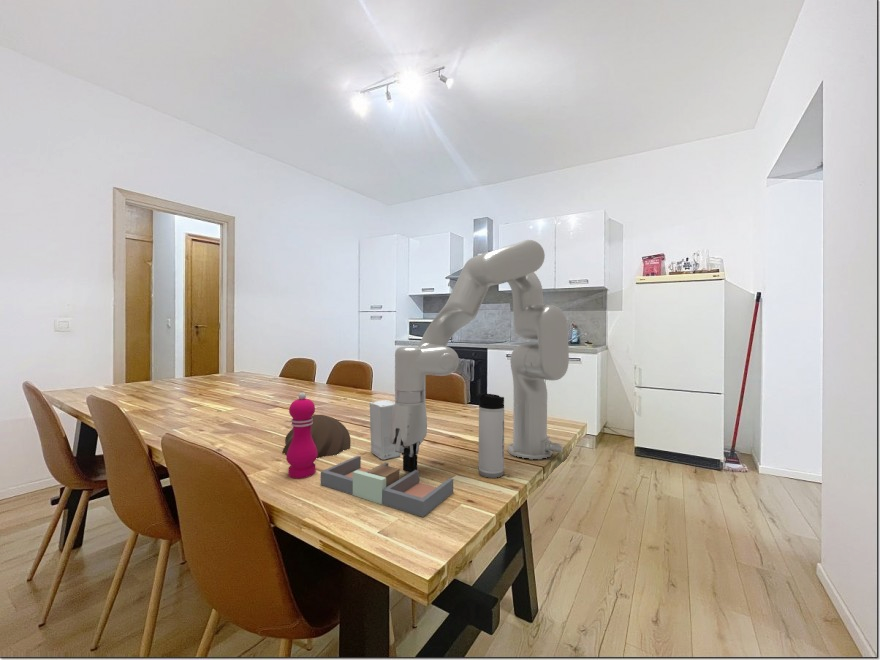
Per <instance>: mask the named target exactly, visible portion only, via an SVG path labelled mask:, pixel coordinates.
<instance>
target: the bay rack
mask: <svg viewBox="0 0 880 660" xmlns="http://www.w3.org/2000/svg"><path fill="white" fill-rule="evenodd" d="M361 457H362V456H360V455H356V456H353V457H351V458H349V459H347V460H344V461H342V462H339V463H338V464H336V465H333V466H331V467H329V468H326V469H323V470H321V471H320V486H323V487H327V488H330V489H332V490H336V491H339V492H342V493H346V494H349V495H352V496H354V497H358V498H360V499H364V500H367V501H370V502H372V503H376V504H380V505H383V506H386V507H389V508H392V509H395V510H399V511H403V512H405V513H408V514H411V515H415V516H419V517H421V518H424V517H425V516H427V515H428V514H429V513H431V512H432V510H434V509H435V508H436V507H438V506H439V505H441V503H443V502H444V501H445V500H446V499H448V498H449V496H451V495H452V494H453V493H454V478H452V477H449V478H447V479H446V480H445V481H443V482H442V483H440V484H439V485H438V486H434V485H430V484H427V483H422V482H420V470H418V469H417V470H414V471H413V472H408V473H407V474H406V475H404V476H402V477H401V478H399V480H398V481H396V482H394V483H393V484H391V485H389V486H388V487H386V478H385V477H382V476H378V475H374V474H371V473H368V471H370V470H372V469H374V468H376V467H378V466H380V465H386V466H389V462H382V463H381V464H378V465H377V466H375V467H372V469H368V468H365V467H361V465H362V463H361V459H362V458H361Z"/></svg>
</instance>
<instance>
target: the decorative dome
mask: <svg viewBox="0 0 880 660" xmlns="http://www.w3.org/2000/svg"><path fill="white" fill-rule="evenodd" d="M312 418H313V421H312V422H313V424H312V425H311V436H312V439H313V441H314V443H315V445H316V448H317V454H318V456H317V459H320V458H324V457H331V456H332V457H333V455H334V456H338V455H339V454H340V453H341V452H344V451H348V450H350V449H351V435H350V433H349V431H348V429H347V428H346V426H345V425H344V424H343V423H342V422H340V421H339V420H338V419H336V418H334V417H332V416H329V415H325V414H313V415H312ZM293 432H294V430H293V428H291V429H290V430H289V431H288V433H287V434H286V436H285V439H284V444H285V445H284V447H283V450H282V454H284V453H285V454H284V455H287V451H288V448H289V446H290V444H291V442H292V439H293ZM347 449H348V450H347ZM343 450H344V451H343ZM337 454H338V455H337ZM323 456H324V457H323ZM319 457H320V458H319Z"/></svg>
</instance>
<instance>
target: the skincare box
mask: <svg viewBox="0 0 880 660" xmlns="http://www.w3.org/2000/svg"><path fill="white" fill-rule="evenodd" d="M394 404H395V401H392V400H391V401H390V400H388V399H384V400H377V401H372V402H371V401H370V402H369V422H370V424H369V425H370V427H369V429H370V453H371V454H373V455H375V456H376V457H377V458H379V459H381V460H383V461H384V460H389V459H394V458H395V459H396V458H400V457H401V456H402V454H401V453H398V452H395V449H396V444H394V445H393V444H391V442H390V429H391V417H392V410H393V405H394Z"/></svg>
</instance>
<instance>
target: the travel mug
mask: <svg viewBox="0 0 880 660" xmlns="http://www.w3.org/2000/svg"><path fill="white" fill-rule="evenodd" d="M477 396H478V469H477V470H478V474H479V475H480V476H481V477H484V478H487V477H488V479H497V477H498V478H501V477H503V476H504V474H505V397H504V396H500V395H499V394H493V393H481V392H480V393H478V395H477ZM502 475H503V476H502ZM500 476H501V477H500Z"/></svg>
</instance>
